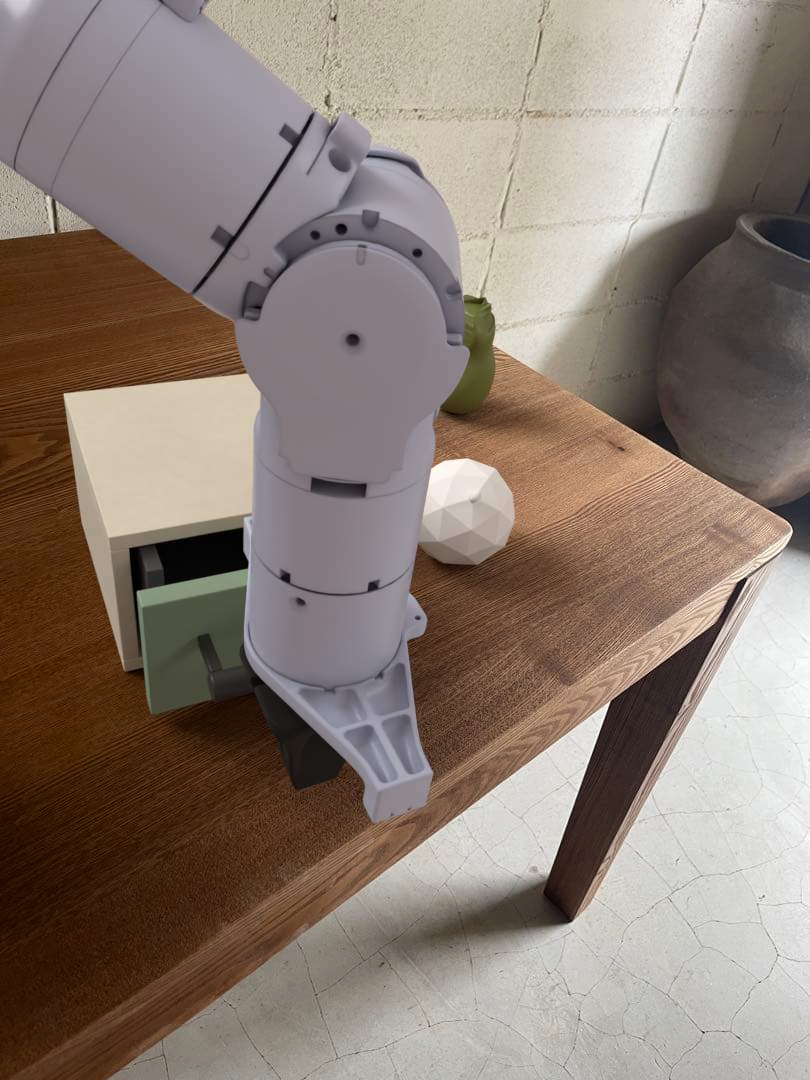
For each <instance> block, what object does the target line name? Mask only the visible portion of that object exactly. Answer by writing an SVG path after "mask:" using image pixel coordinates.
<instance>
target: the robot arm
mask: <svg viewBox="0 0 810 1080" xmlns="http://www.w3.org/2000/svg"><path fill="white" fill-rule="evenodd" d="M209 2H210V0H0V162H1V163H2V164H4V165H5V166H7V167H8V168H10V169H11V170H12V171H14V172H15V173H17V174H18V175H19V176H20V177H22V178H23V179H24V180H26V181H28V182H29V183H31V185H33V186H34V187H36V188H37V189H39V190H40V191H42V192H43V193H44V194H45V195H47V196H49V198H51V199H53V200H54V201H56V202H57V203H59V204H60V206H63V207H64V208H66V209H67V210H69V211H70V212H71V213H73V214H74V215H75V216H77V217H78V218H80V219H81V220H82V221H84V222H86V224H88V225H89V226H91V227H92V228H94V229H95V230H97V231H98V232H99V233H101V234H102V235H103V236H105V237H106V238H108V239H110V240H111V241H112V242H114V243H115V244H116V245H118V246H119V247H121V248H122V249H123V250H125V251H127V252H128V253H129V254H130V255H131V256H133V257H135V258H136V259H138V260H139V261H140V262H142V263H144V265H146V266H147V267H149V268H150V269H151V270H153V271H155V272H157V273H158V274H159V275H160V276H162V278H164V279H166V280H168V281H169V282H171V284H173V285H174V286H176V287H178V288H179V289H180V290H181V291H183V292H184V293H186V294H187V295H189V294H190V295H191V297H192V298H193V299H195V300H196V301H197V302H199V303H200V304H202V305H203V306H204V307H206V308H207V309H209V310H210V311H212V312H214V313H216V314H217V315H219V316H221V317H223V318H225V319H227V320H229V321H231V322H233V329H234V330H233V331H234V337H235V344H236V347H237V351H238V354H239V358H240V361H241V363H242V365H243V367H244V370H245V372H246V374H248V375H249V377H250V379H251V380H252V382H253V383H254V385H255V386H256V387H257V389H258V390H259V391H260V409H259V411H258V413H257V415H256V419H255V422H254V427H253V486H252V516H250V517H245V518H244V549H243V550H244V553H245V555H246V557H247V559H248V561H249V567H248V580H247V593H246V607H245V620H244V642H243V643H242V645H241V647H240V652H239V656H240V659H241V661H242V664H243V666H244V668H245V671H246V673H247V676H248V678H249V680H250V683H251V685H252V686H253V687H254V688H255V692H254V694H255V698H256V699H257V702H258V704H259V707H260V710H261V711H262V712H261V713H262V714H263V717H264V719H265V721H266V724H267V725H268V728H269V730H270V731H271V733H272V734H273V736H274V738H275V739H276V740H275V741H276V745H277V748H278V751H279V754H280V758H281V760H282V764H283V765H284V767H285V771H286V772H287V775H288V777H289V780H290V783H291V785H292V787H293V789H294V790H296V791H301V790H303V789H307V788H310V787H313V786H317V785H320V784H323V783H327V782H330V781H332V780H336V779H337V777H338V776H339V774H340V772H341V771H342V769H343V767H344V766H345V764H346V763H347V764H349V766H351V768H352V769H353V770H354V771H356V773H357V775H358V776H359V778H360V779H362V781H363V784H364V792H363V797H362V804H363V806H364V808H365V809H364V810H365V811H366V813H367V815H368V818H369V819H370V822H371V823H372V824H377V823H381V822H383V821H386V820H389V819H393V818H397V817H399V816H402V815H405V814H409V813H410V812H412V811H416V810H418V809H421V808H423V807H426V804H427V801H428V796H429V792H430V788H431V784H432V780H433V776H434V771H433V769H432V767H431V765H430V763H429V761H428V759H427V757H426V754H425V752H424V750H423V746H422V743H421V740H420V734H419V729H418V723H417V721H418V720H417V715H416V713H417V712H416V706H415V696H414V689H413V682H412V673H411V672H412V671H411V664H410V657H409V649H408V641H410V640H412V639H416V638H419V637H421V636H423V635H424V634H425V632H426V629H427V623H428V617H427V615H426V613H425V611H424V610H423V608H422V607H421V605H420V604H419V602H418V600H417V599H416V598H415V596H414V595H412V594H411V593H410V589H411V584H412V580H413V579H412V578H413V573H414V567H415V563H416V562H415V561H416V556H417V551H418V547H419V544H418V541H419V535H420V530H421V524H422V519H423V513H424V507H425V502H426V496H427V491H428V485H429V479H430V474H431V469H432V468H433V462H434V458H435V453H436V445H437V444H436V443H437V442H436V433H435V428H434V426H433V424H435V422H436V420H437V418H438V415H439V413H440V409H441V408H440V406H441V405H442V404H443V403H444V402H445V401H446V399H447V398H448V397H449V396H450V395H451V393H452V392H453V391H454V389H455V388H456V386H457V385H458V383H459V381H460V379H461V377H462V375H463V373H464V371H465V368H466V365H467V363H468V359H469V356H470V351H469V349H468V348H467V347H466V346H463V341H464V336H465V309H464V297H463V295H464V288H463V287H464V286H463V274H462V260H461V259H462V258H461V250H460V241H459V239H460V238H459V235H458V230H457V227H456V224H455V221H454V219H453V217H452V214H451V212H450V209H449V207H448V205H447V203H446V202H445V199H444V198H443V196H442V194H441V193H440V192H439V190H437V188H436V187H435V185H434V184H433V183H432V182H431V181H430V180H429V179H428V178H426V175H425V174H424V172H423V170H422V168H421V166H420V163H419V162H418V160H417V159H416V158H415V157H413V156H411V155H409V154H407V153H405V152H403V151H401V150H398V149H395V148H393V147H389V146H384V145H381V144H373V143H372V140H373V139H372V134H371V132H370V131H369V130H368V129H366V127H364V126H363V125H362V124H361V123H360V122H358V120H357V119H355V117H353V116H352V115H350V113H349V112H348V111H346V110H342V111H340V113H339V114H338V115H337V116H336V117H335V119H334V120H333V122H332V123H331V122H330V121H329V120H328V119H327V118H326V117H324V115H322V113H320V112H319V111H317V110H313V108H314V107H313V106H312V105H311V104H310V103H308V101H306V100H305V98H302V97H301V96H300V95H299V94H298V93H297V92H296V91H294V90H293V89H292V88H291V87H290V86H289V85H288V84H286V83H285V82H284V81H283V80H282V79H281V78H280V77H278V76H277V75H276V74H275V73H273V72H272V71H271V70H270V69H269V68H268V67H266V66H265V64H263V63H262V62H261V61H260V60H258V59H257V58H256V57H255V56H254V55H253V54H252V53H250V51H248V50H247V49H246V48H245V47H243V46H242V45H241V44H240V43H239V42H238V41H236V39H234V37H232V36H231V35H229V34H228V33H227V32H226V31H225V30H223V28H221V27H220V26H219V25H218V24H216V22H214V21H213V19H211V18H210V17H209V16H207V14H206V13H204V11H205V9H206V7H207V6H208V4H209Z"/></svg>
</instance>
